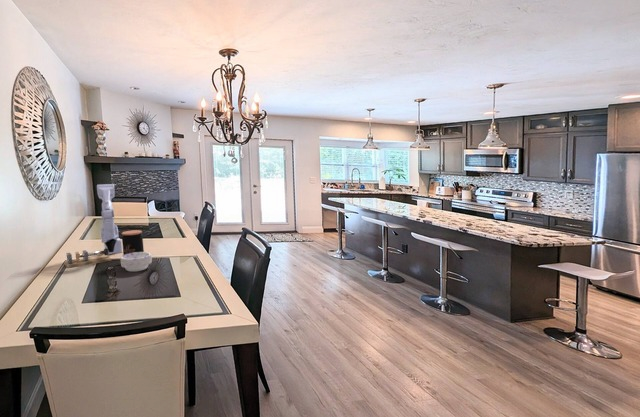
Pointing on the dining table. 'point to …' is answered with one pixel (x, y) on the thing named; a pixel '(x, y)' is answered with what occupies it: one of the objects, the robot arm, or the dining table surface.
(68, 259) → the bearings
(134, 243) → the coffee jar
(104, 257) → the base board
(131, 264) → the paper bowls
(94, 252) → the shaft
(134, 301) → the dining table surface
